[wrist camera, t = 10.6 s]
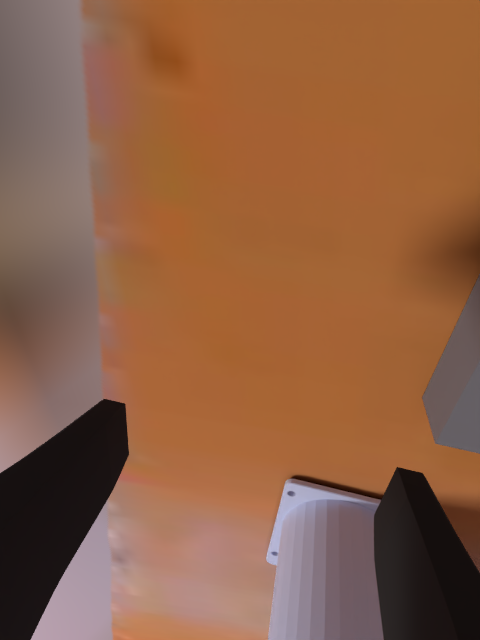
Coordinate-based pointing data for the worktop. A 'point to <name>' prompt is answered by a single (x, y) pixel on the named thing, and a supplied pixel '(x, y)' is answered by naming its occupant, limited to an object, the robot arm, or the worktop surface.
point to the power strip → (458, 383)
